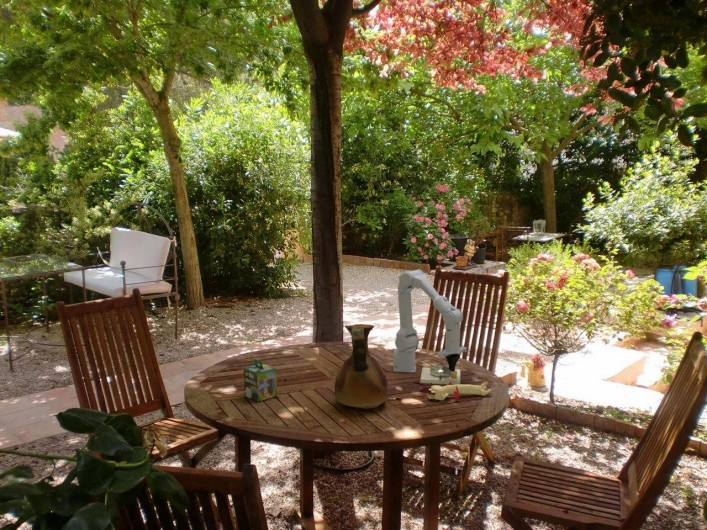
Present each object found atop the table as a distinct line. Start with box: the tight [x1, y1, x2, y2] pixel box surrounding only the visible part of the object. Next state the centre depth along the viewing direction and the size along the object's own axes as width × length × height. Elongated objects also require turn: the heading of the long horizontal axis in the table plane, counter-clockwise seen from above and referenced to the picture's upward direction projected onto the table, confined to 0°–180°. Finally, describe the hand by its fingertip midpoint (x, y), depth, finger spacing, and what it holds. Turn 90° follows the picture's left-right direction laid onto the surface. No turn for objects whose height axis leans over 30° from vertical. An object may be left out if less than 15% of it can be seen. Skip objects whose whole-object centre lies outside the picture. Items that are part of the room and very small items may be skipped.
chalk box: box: [243, 358, 278, 403], centre depth 229 cm, size 9×9×15 cm
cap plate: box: [419, 366, 461, 385], centre depth 253 cm, size 16×16×2 cm
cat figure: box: [426, 375, 492, 402], centre depth 230 cm, size 10×9×25 cm
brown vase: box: [334, 323, 389, 409], centre depth 221 cm, size 20×20×30 cm
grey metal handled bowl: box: [429, 364, 457, 378], centre depth 248 cm, size 18×9×5 cm, turn 17°
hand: (451, 371), depth 247 cm, fingers closed, pressing on grey metal handled bowl
